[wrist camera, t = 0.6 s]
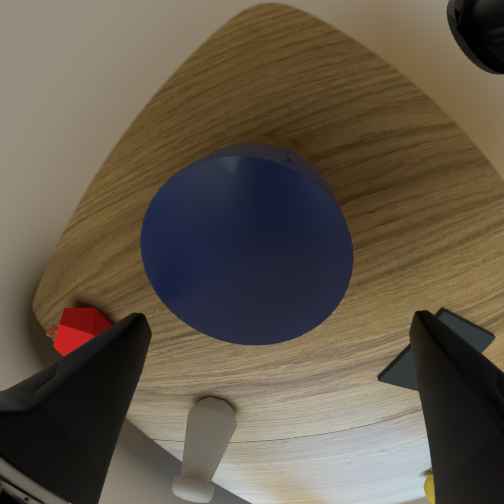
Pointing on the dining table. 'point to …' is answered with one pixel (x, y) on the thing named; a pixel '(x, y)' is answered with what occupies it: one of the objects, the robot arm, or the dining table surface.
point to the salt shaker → (204, 448)
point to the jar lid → (248, 245)
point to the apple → (77, 328)
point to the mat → (403, 365)
